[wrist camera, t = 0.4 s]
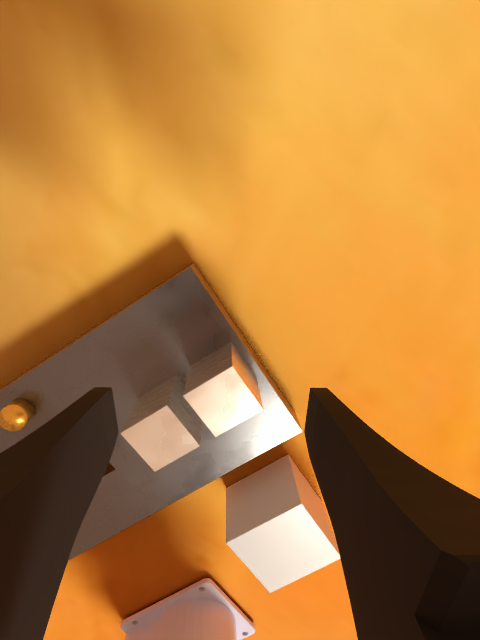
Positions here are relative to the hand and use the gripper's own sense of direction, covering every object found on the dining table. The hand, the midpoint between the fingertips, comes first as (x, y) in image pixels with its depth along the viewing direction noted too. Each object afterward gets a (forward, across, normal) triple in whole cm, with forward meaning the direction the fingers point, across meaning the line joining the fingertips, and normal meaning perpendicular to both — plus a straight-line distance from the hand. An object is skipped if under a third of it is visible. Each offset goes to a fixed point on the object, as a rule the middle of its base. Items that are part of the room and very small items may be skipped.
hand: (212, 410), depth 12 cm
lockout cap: (+8, -4, +15) cm, 18 cm away
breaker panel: (+9, +6, +8) cm, 13 cm away
